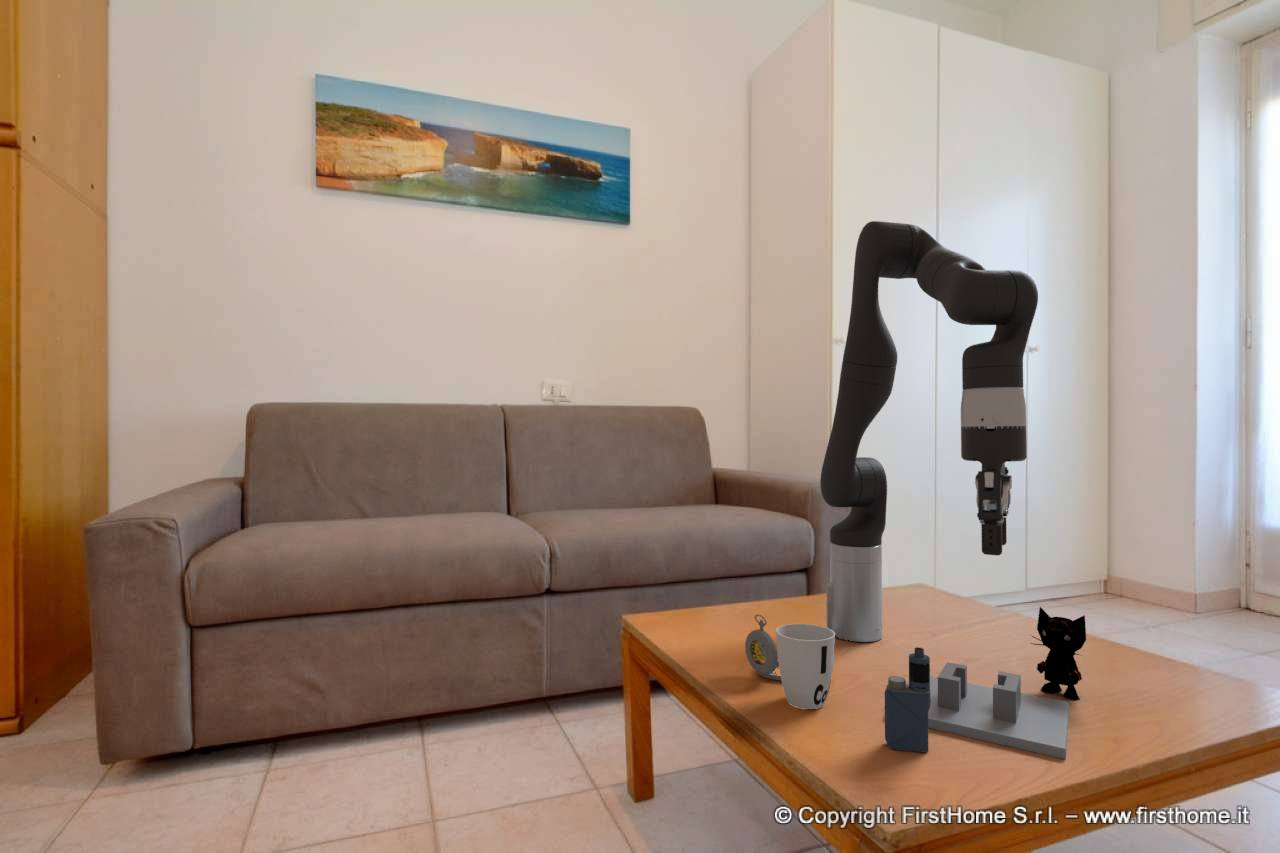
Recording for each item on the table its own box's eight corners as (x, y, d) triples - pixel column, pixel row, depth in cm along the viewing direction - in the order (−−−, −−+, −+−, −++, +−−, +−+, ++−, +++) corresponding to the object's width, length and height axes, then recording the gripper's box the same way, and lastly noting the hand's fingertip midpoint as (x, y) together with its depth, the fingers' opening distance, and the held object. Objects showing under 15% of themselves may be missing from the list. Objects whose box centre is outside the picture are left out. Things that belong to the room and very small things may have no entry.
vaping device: (933, 754, 79) (932, 652, 80) (886, 750, 81) (886, 650, 81) (928, 744, 82) (927, 646, 82) (883, 740, 83) (882, 643, 83)
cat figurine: (1025, 690, 98) (1025, 609, 99) (1045, 680, 103) (1045, 601, 103) (1080, 706, 93) (1079, 620, 93) (1098, 694, 97) (1098, 611, 97)
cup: (825, 719, 89) (825, 644, 89) (767, 706, 93) (767, 634, 93) (842, 698, 96) (841, 628, 96) (787, 687, 100) (787, 620, 100)
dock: (887, 718, 89) (887, 679, 89) (914, 680, 103) (913, 646, 103) (1065, 759, 78) (1065, 714, 78) (1069, 711, 91) (1068, 672, 91)
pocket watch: (803, 671, 107) (803, 608, 107) (792, 689, 99) (792, 622, 99) (753, 663, 110) (753, 602, 110) (739, 681, 103) (738, 615, 103)
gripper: (967, 425, 95) (968, 539, 95) (954, 424, 83) (955, 555, 82) (1028, 424, 91) (1030, 544, 91) (1023, 423, 79) (1026, 561, 79)
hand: (994, 549), depth 87 cm, fingers open, 8 cm apart
